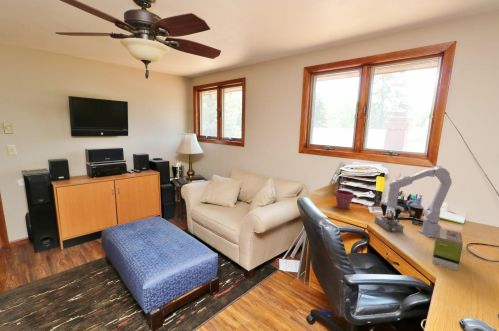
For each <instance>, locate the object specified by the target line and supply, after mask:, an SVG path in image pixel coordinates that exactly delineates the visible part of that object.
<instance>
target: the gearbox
mask: <svg viewBox="0 0 499 331" xmlns="http://www.w3.org/2000/svg"><path fill="white" fill-rule="evenodd" d="M386 218H387V215H385V216H383V215H381V216H379V215H378V216H376V215H375V216H374V222H375V223H376V224H378V226H380V227H381V228H382V229H383V230H385V231H386V232H390V233H391V232H392V233H394V232H396V233H403V232H404V225H403V224H401V223H399V221H398V219H397V220H395V217H394V218H393V220H387V219H386Z"/></svg>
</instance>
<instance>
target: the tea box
mask: <svg viewBox="0 0 499 331" xmlns="http://www.w3.org/2000/svg"><path fill="white" fill-rule="evenodd" d="M463 245H464V243H463V237H462V233H461V232H459V231H455V230H450V229H447V228H442V227H441V228H437V232H436V238H435V237H434V244H433V252H432V253H433V254H432V262H431V263H432V264H434V263H435V264H434V265H437V264H438V265H437V266H440V265H441V267H443V266H444V268H446V267H448V268H447V269H449V268H451V270H453V269H454V271H456V270H457V271H458V270H459V267H460V266H459V265H460V261H461V256H462V255H461V254H462V251H463ZM457 271H456V272H457Z"/></svg>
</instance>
